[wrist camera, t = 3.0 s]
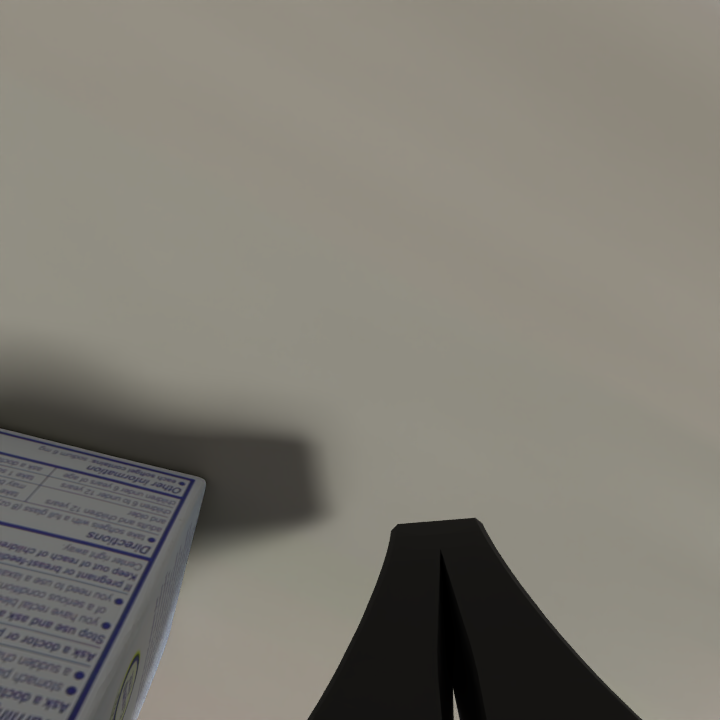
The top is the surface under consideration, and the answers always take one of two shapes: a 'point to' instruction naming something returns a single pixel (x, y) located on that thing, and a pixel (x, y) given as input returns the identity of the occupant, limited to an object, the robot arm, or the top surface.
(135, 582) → the medicine box
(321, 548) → the top surface
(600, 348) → the top surface
